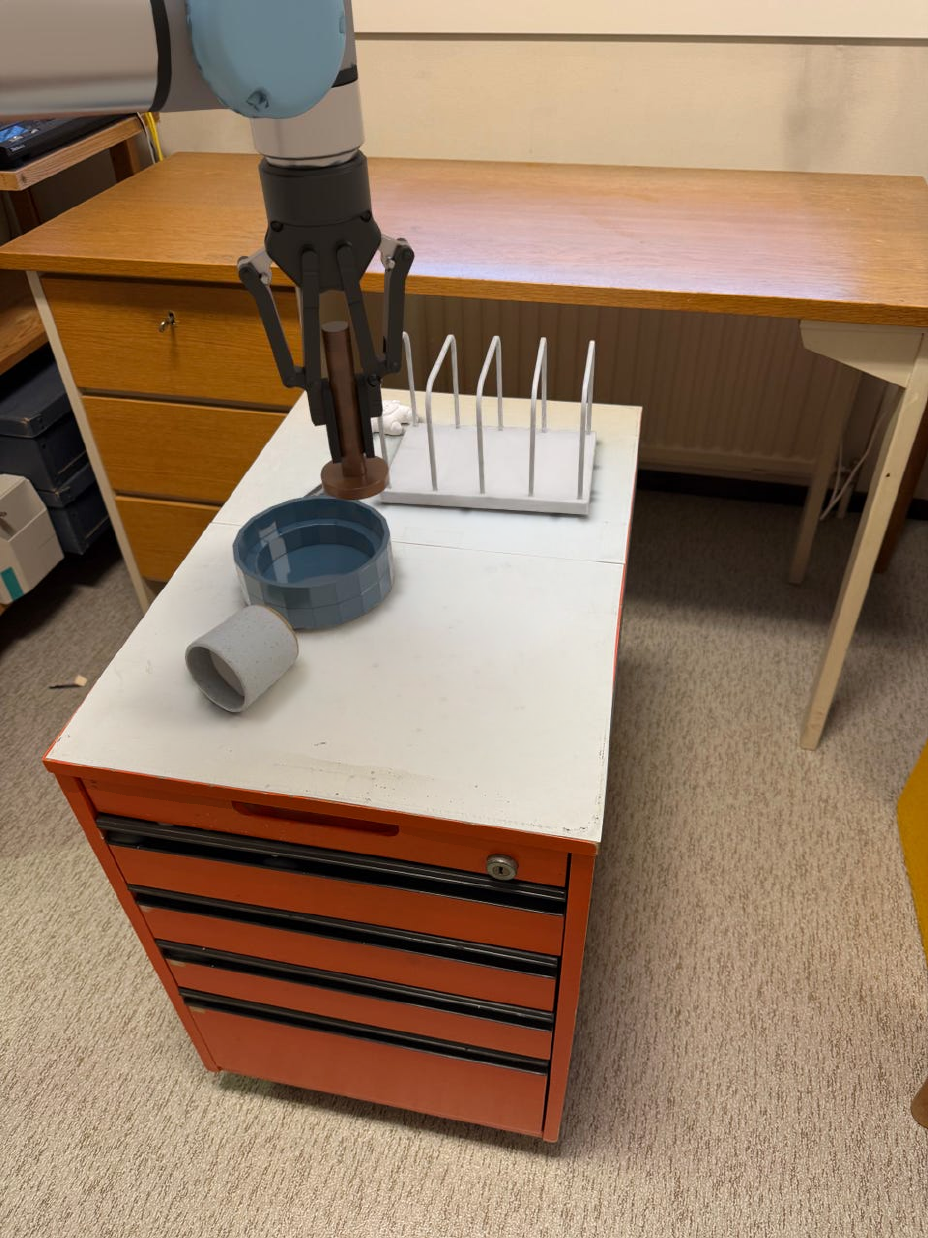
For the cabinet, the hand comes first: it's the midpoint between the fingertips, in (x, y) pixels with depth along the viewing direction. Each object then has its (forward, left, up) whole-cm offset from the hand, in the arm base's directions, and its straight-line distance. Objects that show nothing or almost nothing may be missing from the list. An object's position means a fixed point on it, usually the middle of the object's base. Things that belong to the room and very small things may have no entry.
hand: (352, 452), depth 76 cm
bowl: (-5, +9, -21) cm, 23 cm away
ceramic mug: (-14, -3, -21) cm, 25 cm away
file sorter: (+19, +25, -21) cm, 38 cm away
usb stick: (-3, +25, -21) cm, 33 cm away
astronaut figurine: (+7, +43, -21) cm, 49 cm away
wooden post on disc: (0, 0, -3) cm, 3 cm away
